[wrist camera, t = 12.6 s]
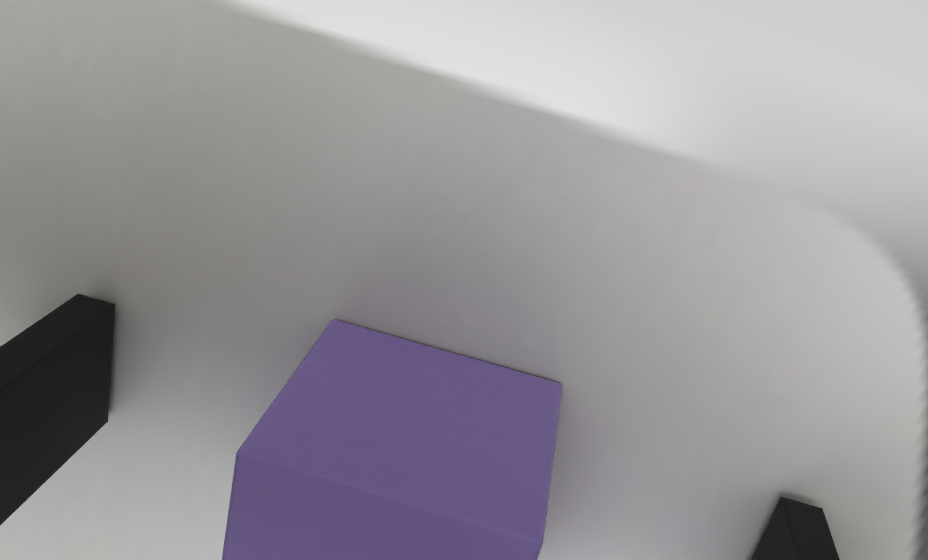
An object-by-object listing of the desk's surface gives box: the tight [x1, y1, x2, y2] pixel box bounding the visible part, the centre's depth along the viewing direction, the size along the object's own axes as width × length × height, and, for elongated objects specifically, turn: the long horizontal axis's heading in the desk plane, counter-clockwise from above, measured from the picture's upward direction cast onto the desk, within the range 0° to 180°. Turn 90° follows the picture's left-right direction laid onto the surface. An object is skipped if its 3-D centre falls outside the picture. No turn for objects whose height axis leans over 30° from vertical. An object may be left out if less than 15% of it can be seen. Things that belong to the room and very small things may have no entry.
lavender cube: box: [222, 320, 562, 560], centre depth 15 cm, size 4×4×4 cm
